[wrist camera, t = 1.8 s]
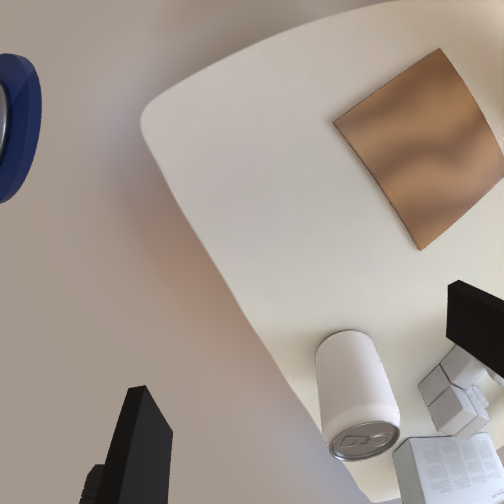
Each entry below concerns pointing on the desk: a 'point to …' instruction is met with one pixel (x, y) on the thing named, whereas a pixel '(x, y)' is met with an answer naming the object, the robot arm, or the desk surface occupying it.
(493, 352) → the robot arm
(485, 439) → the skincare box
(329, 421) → the can
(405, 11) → the desk surface
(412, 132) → the wooden coaster
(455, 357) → the stacked white cubes
